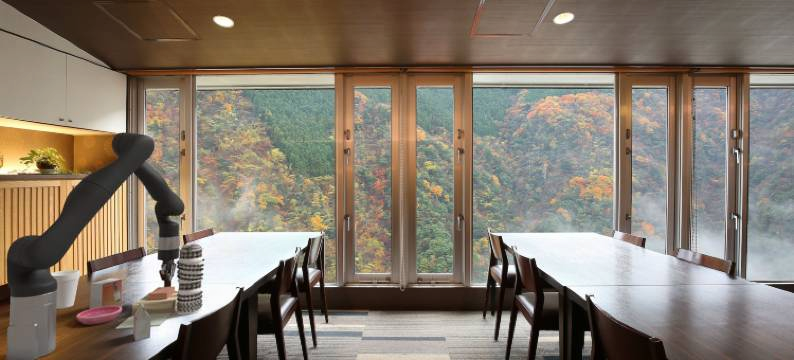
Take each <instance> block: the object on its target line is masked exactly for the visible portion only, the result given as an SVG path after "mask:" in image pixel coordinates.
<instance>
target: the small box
mask: <svg viewBox="0 0 794 360" xmlns="http://www.w3.org/2000/svg"><path fill="white" fill-rule="evenodd" d="M122 288H123V280H122V278H111V277H110V278H107V279H103V280H99V281H95V282H90V297H89V301H90V302H89V309H92V308H97V307H102V306H121V307H122V292H123V291H122Z"/></svg>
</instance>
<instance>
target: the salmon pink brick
mask: <svg viewBox="0 0 794 360" xmlns="http://www.w3.org/2000/svg"><path fill="white" fill-rule="evenodd" d="M175 291H176V286H171V287H164V286H161V287H157V288H155V289H154V290H152V291H150V292H151V293H150V292H149V293H150V294H149V293H148V294H149V300H161V299H168V298H169V297H170V296H171V295H172V294H174V293H175Z"/></svg>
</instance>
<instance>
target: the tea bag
mask: <svg viewBox="0 0 794 360" xmlns="http://www.w3.org/2000/svg"><path fill="white" fill-rule="evenodd" d="M151 327H152V326H151V319H150V317H149V315H148V313H147V312H146V310H145V308H144V306H143V304H142V302H140V304H139V306H138V309H137V310H136V312H135V314H134V317H133V328H132V336H133V338H134V340H135V342H137V341H141V340H142V341H143V340H146V339H150V338H151Z"/></svg>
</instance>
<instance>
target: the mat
mask: <svg viewBox="0 0 794 360" xmlns="http://www.w3.org/2000/svg"><path fill="white" fill-rule="evenodd" d="M148 315H149V317H150V319H151V326H150V327H158V326H161V325H162V324H163V323H164V322H166V321H167V319H168V318H170V316H172V315H173V313H159V314H148ZM133 317H134V315H132V314H131V315H130V316H129V317H128V318H126V319H125V320H124V321H123V322H121V323H120V324H119V325H118V326H116V327H115V330H121V329H122V330H123V329H133Z"/></svg>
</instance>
